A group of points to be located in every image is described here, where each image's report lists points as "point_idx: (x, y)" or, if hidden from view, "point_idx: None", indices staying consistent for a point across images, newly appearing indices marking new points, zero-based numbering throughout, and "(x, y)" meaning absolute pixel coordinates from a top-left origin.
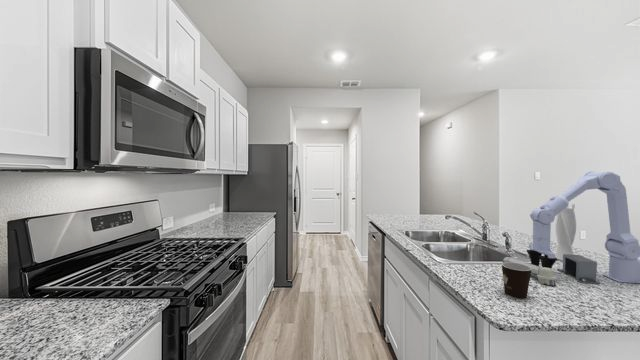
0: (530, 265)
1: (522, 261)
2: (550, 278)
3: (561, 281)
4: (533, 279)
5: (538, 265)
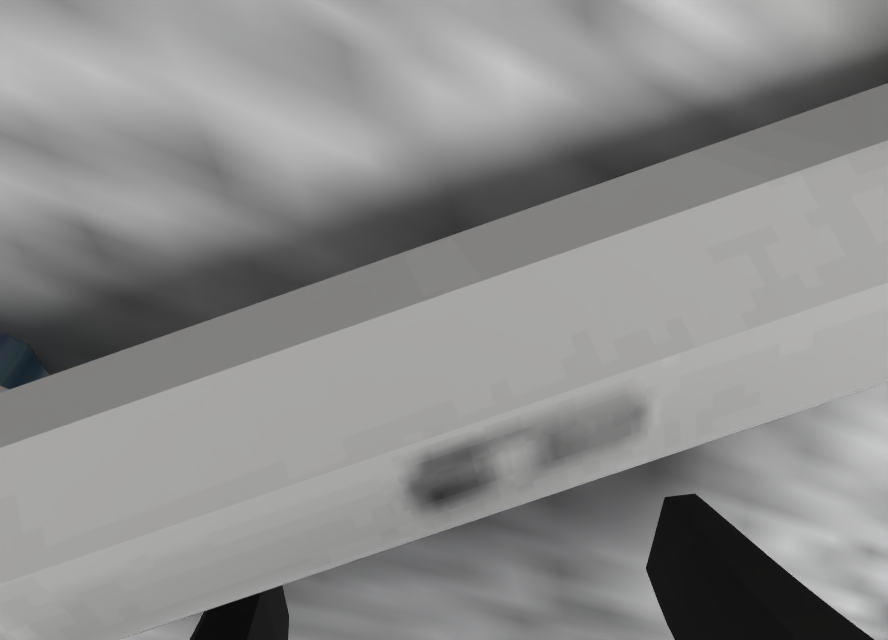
0: (246, 465)
1: (813, 385)
2: None
3: (188, 634)
4: (78, 253)
5: (668, 612)
